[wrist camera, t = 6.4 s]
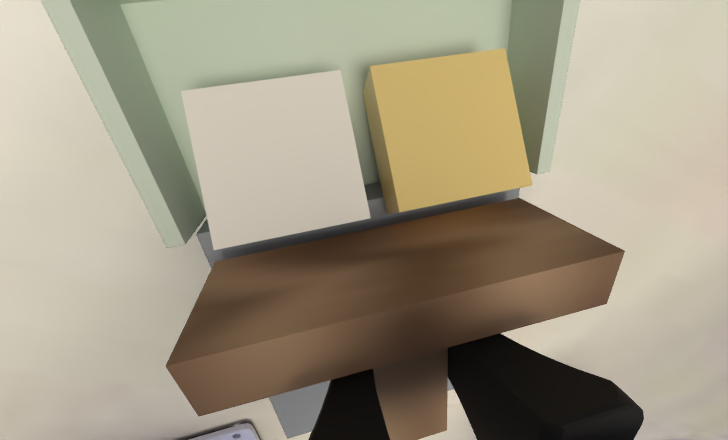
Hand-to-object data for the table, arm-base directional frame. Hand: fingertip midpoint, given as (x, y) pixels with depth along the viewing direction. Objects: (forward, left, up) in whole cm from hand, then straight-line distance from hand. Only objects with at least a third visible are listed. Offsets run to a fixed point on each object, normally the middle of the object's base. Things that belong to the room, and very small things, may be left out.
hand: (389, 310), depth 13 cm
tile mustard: (+3, +7, -2) cm, 7 cm away
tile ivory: (-3, +7, -2) cm, 7 cm away
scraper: (0, 0, 0) cm, 1 cm away
